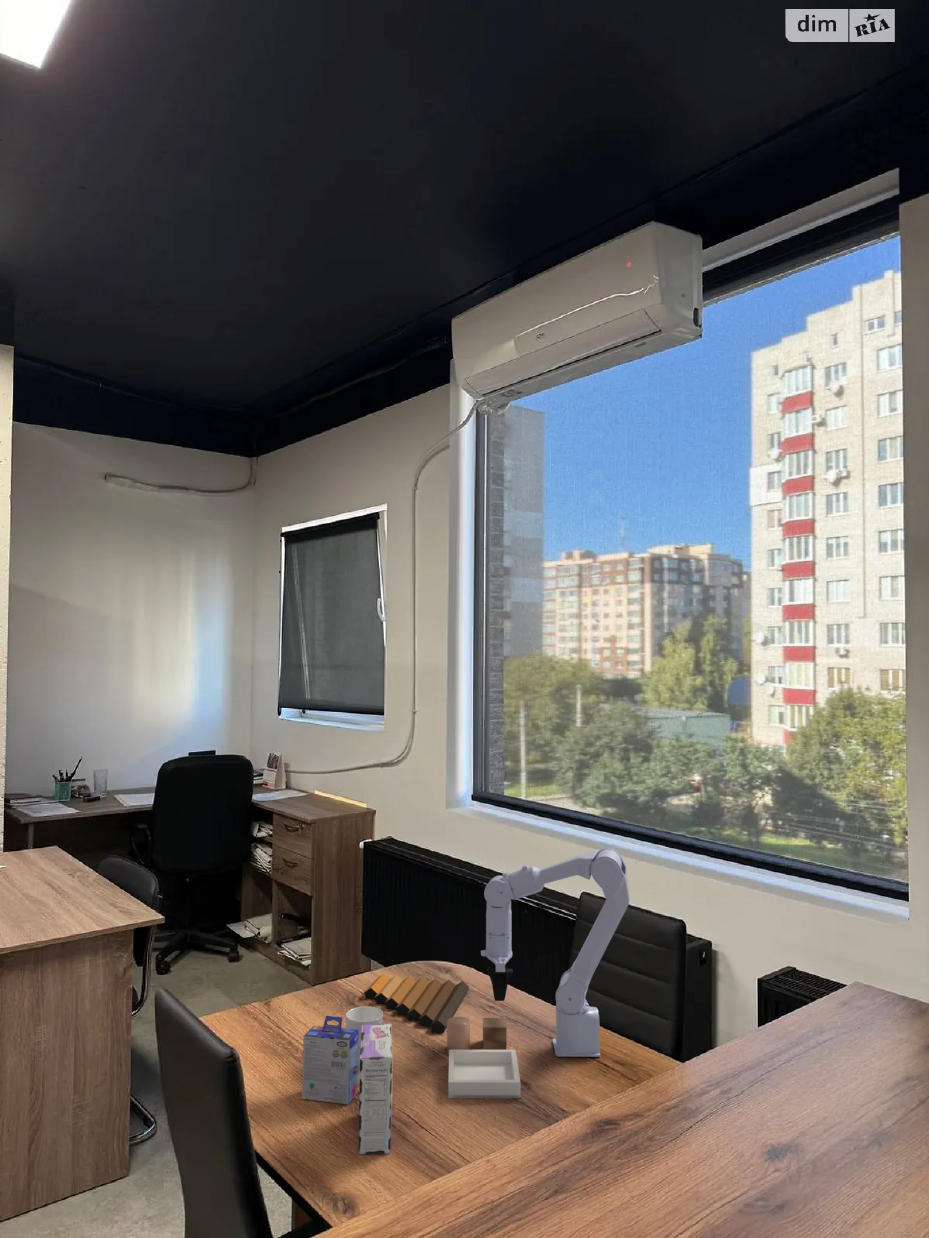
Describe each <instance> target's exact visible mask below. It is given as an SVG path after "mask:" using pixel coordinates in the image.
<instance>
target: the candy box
mask: <svg viewBox="0 0 929 1238" xmlns="http://www.w3.org/2000/svg"><path fill="white" fill-rule="evenodd" d="M392 1028H393V1026H392V1023H383V1024H375V1025H362V1030H361V1043H360V1069H358V1073H359V1074H358V1079H359V1080H358V1083H359V1084H358V1088H359V1089H358V1090H359V1091H358V1093H359V1095H358V1098H359V1099H358V1101H359V1102H358V1147H357V1148H358V1153H357V1154H358V1155H390V1153H391V1151H392V1120H393V1119H392V1117H393V1116H392V1115H393V1032H392V1031H393V1029H392Z"/></svg>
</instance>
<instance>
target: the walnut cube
mask: <svg viewBox="0 0 929 1238" xmlns="http://www.w3.org/2000/svg"><path fill="white" fill-rule="evenodd" d="M506 1021H507V1020H506V1018H505V1017H482V1045H483V1048H482V1050H508V1049H507V1048H508V1047H507V1046H508V1045H507V1034H508V1033H507V1032H508V1031H507V1022H506Z"/></svg>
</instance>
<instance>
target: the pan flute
mask: <svg viewBox="0 0 929 1238" xmlns="http://www.w3.org/2000/svg"><path fill="white" fill-rule="evenodd" d="M469 988H470V986H469V985H468V984H467V983H465V982H464V981H463V980H462V981H460V982H459V983H457V984H455V983H454V982H453V981H452V980H450V979H447V980H446V981H445V982H443V983H442V982H441V981H440V980H438V979H437V978H434V979H433V980H431V981H428V980H426V979H425V978H424V977H421V978H420V979H418V980H416V981H415V980H414V979H413V977H411V976H410V975H409V976H407V977H406V978H404V979H402V978H401V977H400V976H398V975H397V974H396V975H394V976H393V977H391V978H389V977H388V976H387V975H386V974H385V973H382V974H381V975H379V976H378V977H377V978H376V979H375V980H374V981H373V982H372V983H371V984H370V985H369V986H368V988H367V989H366V990H365V991H364V992H363V993H364V996H365V999H366V1000H375V1004H376V1005H382V1006H385V1007H386V1010H388V1009H392V1010H391V1011H396V1014H397V1015H398V1016H404V1017H405V1016H406V1017H407V1018H408V1021H409V1022H419V1026H420V1027H421V1026H422V1027H423V1028H430V1029H431V1032H432V1033H433V1034H441V1033H443V1034H444V1033H445V1031H447V1020H448V1019H450V1018H452V1017H455V1014H456V1013H457V1011H458V1010H459V1007H460V1006H461V1004H462V1002H463V1001H464V999H465V998H466V996H467V994H468V992H469Z"/></svg>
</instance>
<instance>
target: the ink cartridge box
mask: <svg viewBox="0 0 929 1238" xmlns="http://www.w3.org/2000/svg"><path fill="white" fill-rule="evenodd" d="M331 1021H334V1022H337V1023H338V1024H337V1025H336V1024H328V1022H331ZM342 1025H343V1017H341V1016H333V1015H325V1019H324V1023H323V1025H321V1026H320V1025H313V1026H312V1027H311V1028H309V1030H308V1031H307V1032H306V1033H305V1034H304V1035H303V1040H302V1041H303V1044H302V1045H303V1046H302V1047H303V1048H302V1051H303V1052H302V1084H301V1085H302V1087H301V1088H302V1089H301V1099H302V1098H303V1099H302V1100H306V1099H310V1100H309V1101H315V1100H316V1102H324V1103H333V1104H343V1105H349V1104H350V1102H352V1100H353V1099H354V1098H355V1097H356V1095H357V1094H358V1093H359V1091H358V1090H359V1089H358V1088H359V1084H358V1083H359V1080H358V1079H359V1074H358V1073H359V1069H358V1029H350V1028H346V1027H342Z"/></svg>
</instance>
